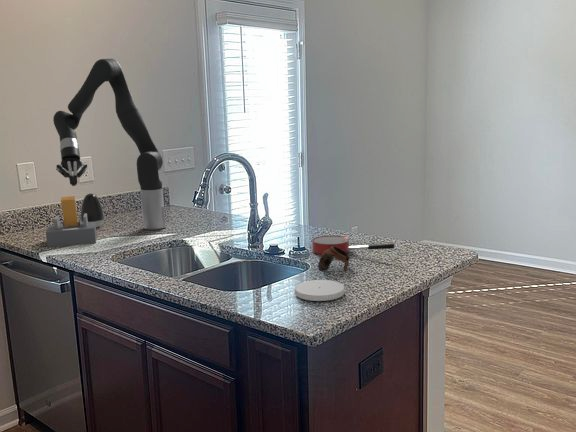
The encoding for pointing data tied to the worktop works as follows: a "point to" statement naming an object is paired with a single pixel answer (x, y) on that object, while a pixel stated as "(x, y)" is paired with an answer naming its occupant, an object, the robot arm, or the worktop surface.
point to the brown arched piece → (328, 258)
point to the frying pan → (341, 244)
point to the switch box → (71, 233)
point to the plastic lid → (319, 290)
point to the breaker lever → (69, 211)
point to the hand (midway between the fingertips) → (74, 184)
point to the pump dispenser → (92, 210)
